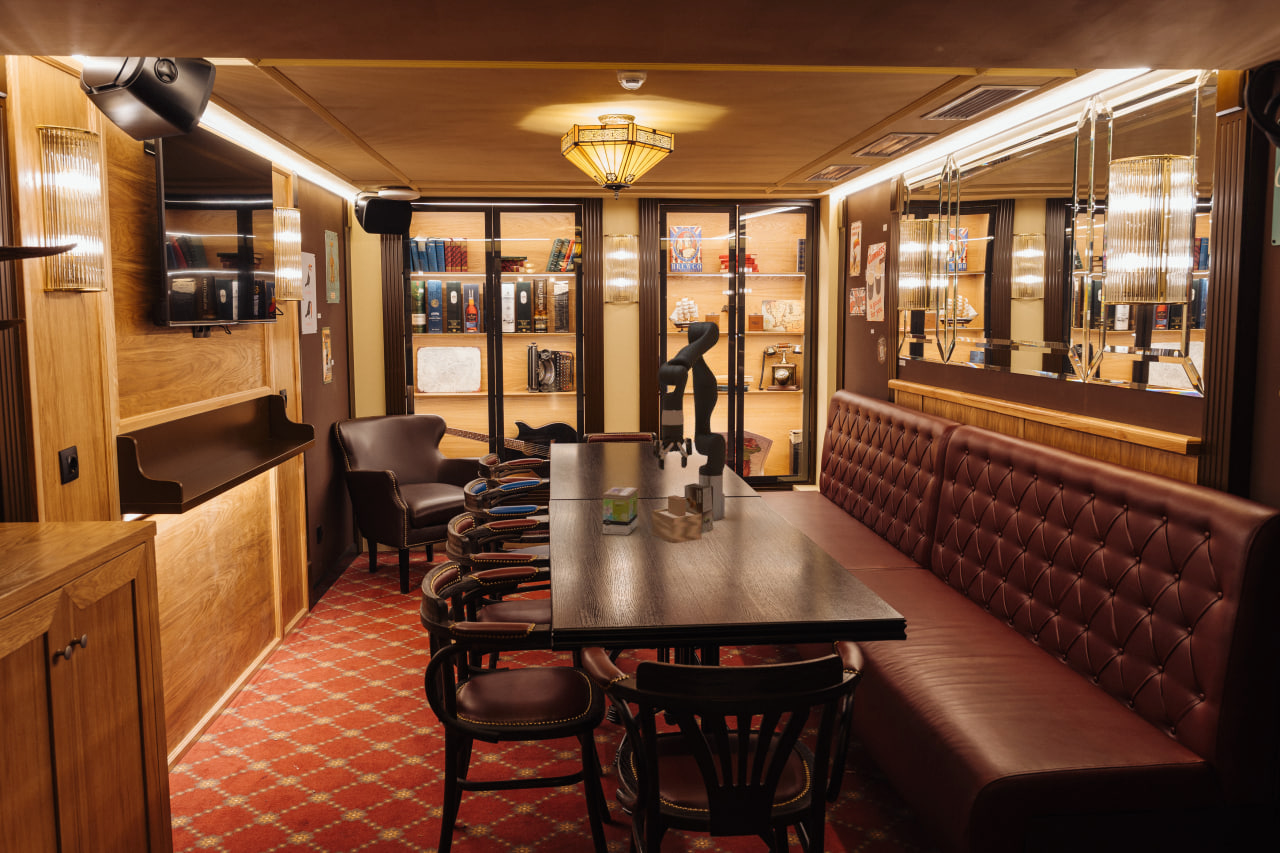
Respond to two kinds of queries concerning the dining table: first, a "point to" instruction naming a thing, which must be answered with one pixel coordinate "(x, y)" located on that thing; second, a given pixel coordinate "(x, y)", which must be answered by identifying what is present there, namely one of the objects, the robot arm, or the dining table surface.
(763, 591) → the dining table surface
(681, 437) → the robot arm
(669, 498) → the lid
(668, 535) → the crate
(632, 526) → the tea box
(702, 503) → the coffee box
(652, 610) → the dining table surface
